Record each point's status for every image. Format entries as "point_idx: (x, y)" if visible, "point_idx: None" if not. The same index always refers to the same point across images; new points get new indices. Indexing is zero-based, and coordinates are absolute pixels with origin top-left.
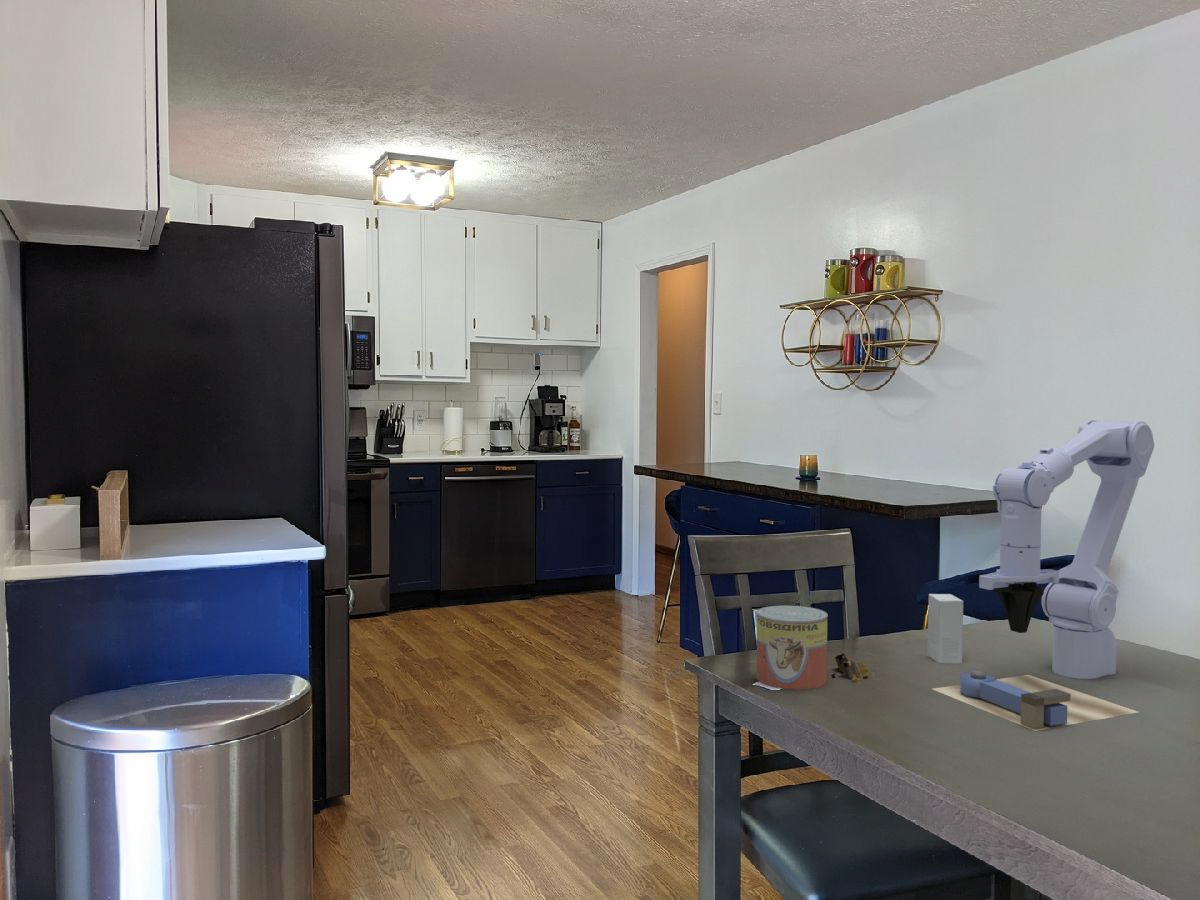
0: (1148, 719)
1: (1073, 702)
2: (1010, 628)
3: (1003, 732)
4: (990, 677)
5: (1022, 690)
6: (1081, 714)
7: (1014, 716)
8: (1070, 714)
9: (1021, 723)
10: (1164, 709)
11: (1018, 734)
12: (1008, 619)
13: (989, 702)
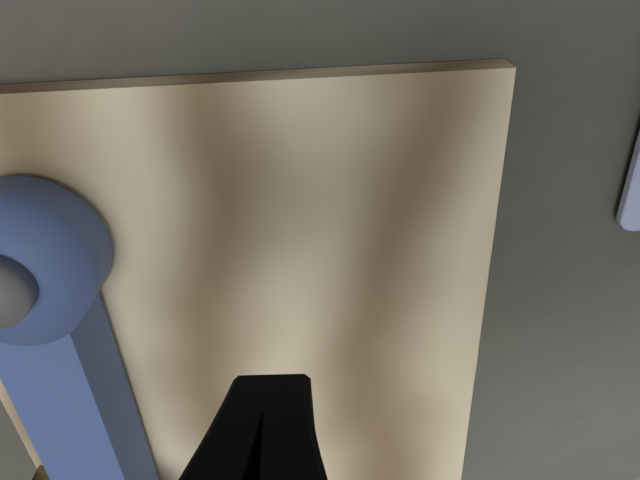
0: (487, 470)
1: (349, 396)
2: (229, 392)
3: (3, 429)
4: (62, 303)
5: (101, 445)
6: None
7: None
8: None
9: (38, 470)
10: (626, 439)
11: None
12: (199, 450)
13: None
